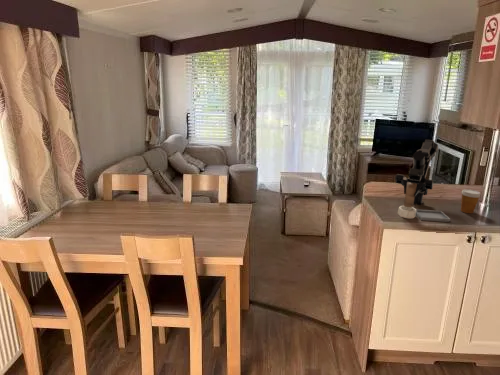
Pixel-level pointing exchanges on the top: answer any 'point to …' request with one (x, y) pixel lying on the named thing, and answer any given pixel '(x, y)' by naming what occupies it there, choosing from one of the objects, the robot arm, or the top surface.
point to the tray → (432, 215)
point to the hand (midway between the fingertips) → (409, 194)
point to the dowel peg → (410, 194)
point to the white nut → (407, 212)
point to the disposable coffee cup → (469, 200)
